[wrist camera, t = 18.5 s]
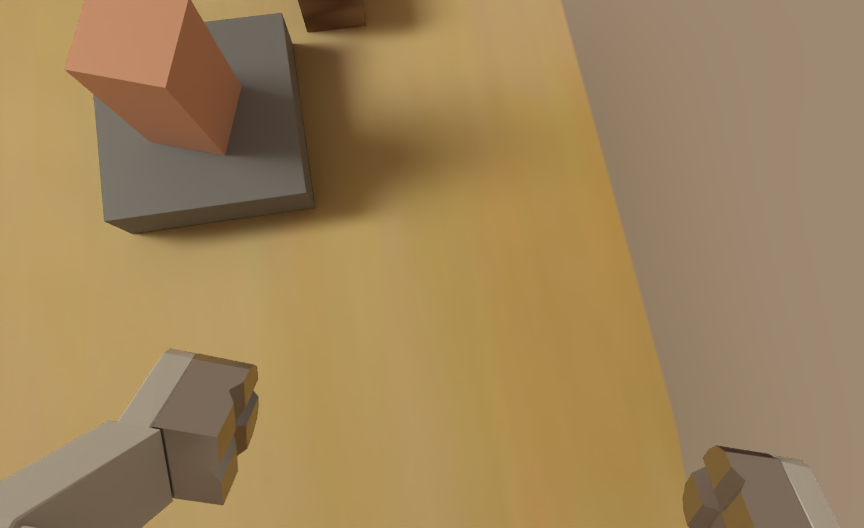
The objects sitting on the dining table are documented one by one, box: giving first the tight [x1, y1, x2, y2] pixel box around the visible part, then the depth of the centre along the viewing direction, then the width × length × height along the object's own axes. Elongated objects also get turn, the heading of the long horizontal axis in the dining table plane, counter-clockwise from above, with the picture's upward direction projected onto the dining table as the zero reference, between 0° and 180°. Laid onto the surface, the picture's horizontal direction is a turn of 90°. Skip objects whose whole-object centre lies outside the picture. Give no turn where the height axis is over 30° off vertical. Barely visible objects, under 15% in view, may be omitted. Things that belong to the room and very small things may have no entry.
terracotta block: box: [64, 0, 242, 155], centre depth 34 cm, size 5×5×10 cm
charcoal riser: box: [94, 13, 315, 234], centre depth 41 cm, size 13×13×4 cm
